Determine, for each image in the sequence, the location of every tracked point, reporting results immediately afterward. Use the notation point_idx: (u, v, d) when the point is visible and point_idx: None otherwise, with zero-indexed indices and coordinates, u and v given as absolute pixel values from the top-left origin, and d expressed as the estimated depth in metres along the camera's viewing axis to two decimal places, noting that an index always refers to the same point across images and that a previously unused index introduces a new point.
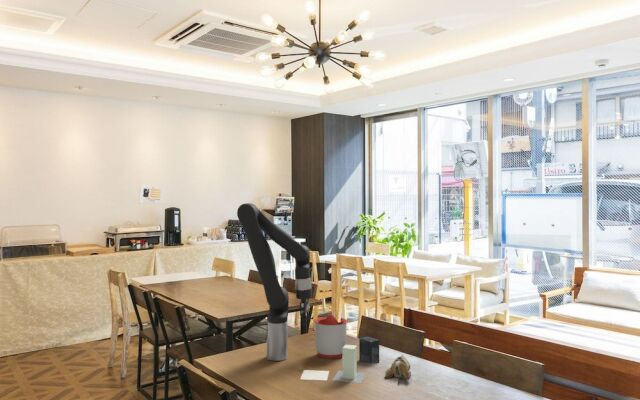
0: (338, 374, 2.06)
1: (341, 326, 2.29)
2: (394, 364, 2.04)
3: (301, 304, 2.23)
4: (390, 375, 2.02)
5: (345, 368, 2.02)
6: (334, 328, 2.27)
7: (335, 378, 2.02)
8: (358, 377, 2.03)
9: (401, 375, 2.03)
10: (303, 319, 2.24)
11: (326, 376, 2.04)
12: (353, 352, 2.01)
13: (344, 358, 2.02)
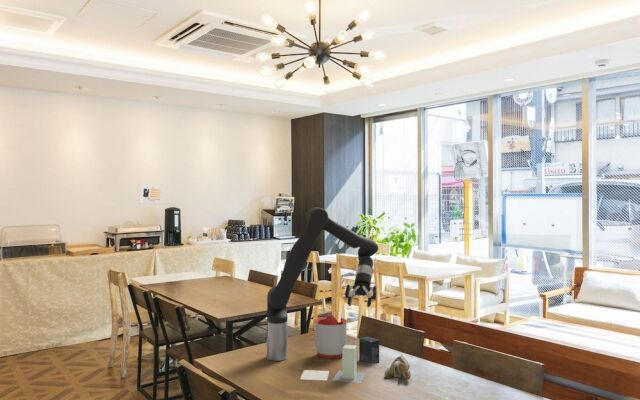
0: (338, 374, 2.06)
1: (341, 326, 2.29)
2: (393, 364, 2.04)
3: None
4: (390, 375, 2.02)
5: (345, 368, 2.02)
6: (334, 328, 2.27)
7: (335, 378, 2.02)
8: (358, 377, 2.03)
9: (401, 375, 2.03)
10: None
11: (326, 376, 2.04)
12: (353, 352, 2.01)
13: (344, 358, 2.02)
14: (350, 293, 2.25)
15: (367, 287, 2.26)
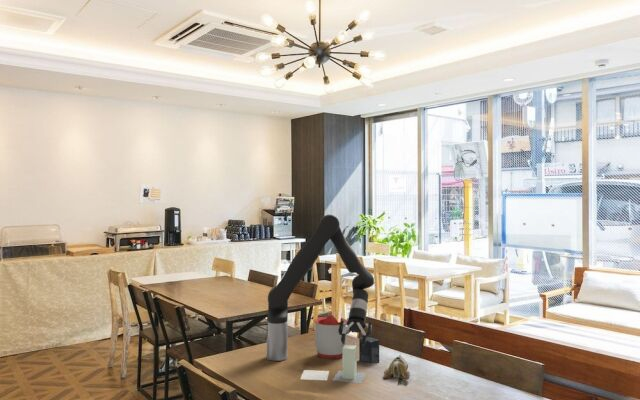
0: (338, 374, 2.06)
1: None
2: (393, 364, 2.04)
3: None
4: (389, 375, 2.02)
5: (345, 368, 2.02)
6: (334, 328, 2.27)
7: (335, 378, 2.02)
8: (358, 377, 2.03)
9: (400, 375, 2.03)
10: (365, 339, 2.10)
11: (326, 376, 2.04)
12: (353, 352, 2.01)
13: (344, 358, 2.02)
14: (344, 330, 2.14)
15: (362, 323, 2.14)
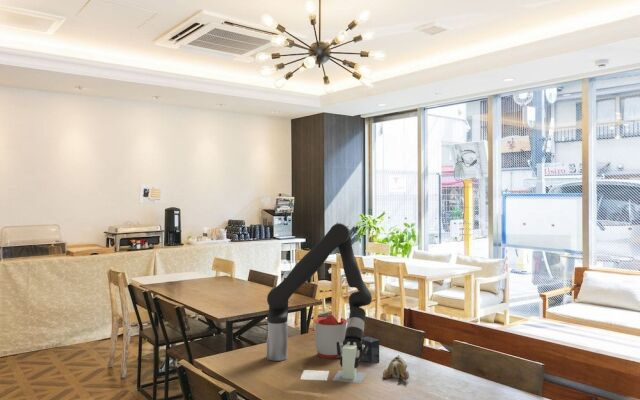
0: (338, 374, 2.06)
1: (341, 326, 2.29)
2: (392, 364, 2.04)
3: (367, 346, 2.06)
4: (388, 376, 2.02)
5: (345, 368, 2.02)
6: (334, 328, 2.27)
7: (335, 378, 2.02)
8: (358, 377, 2.03)
9: (399, 375, 2.02)
10: (358, 361, 2.03)
11: (326, 376, 2.04)
12: (353, 352, 2.01)
13: (344, 358, 2.02)
14: None
15: (358, 345, 2.07)
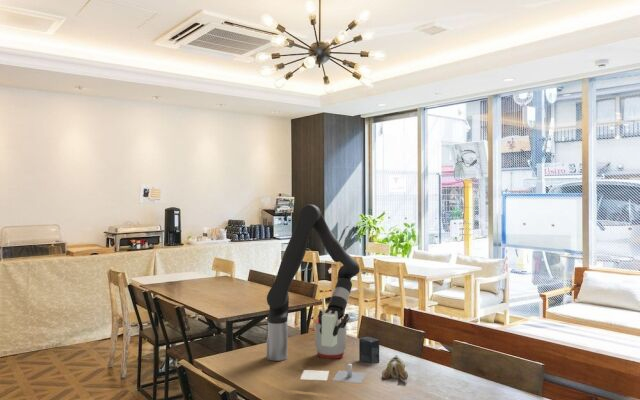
0: (338, 374, 2.06)
1: None
2: (391, 365, 2.04)
3: (348, 316, 2.06)
4: (387, 376, 2.01)
5: (324, 335, 2.03)
6: None
7: (335, 378, 2.02)
8: (358, 377, 2.03)
9: (398, 375, 2.02)
10: (337, 329, 2.03)
11: (326, 376, 2.04)
12: (332, 320, 2.02)
13: (323, 325, 2.03)
14: None
15: (340, 313, 2.07)
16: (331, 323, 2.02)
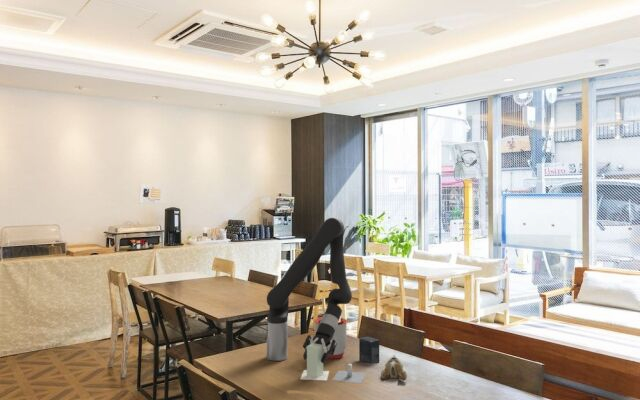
0: (338, 374, 2.06)
1: (341, 326, 2.29)
2: (389, 365, 2.03)
3: (335, 341, 2.07)
4: (386, 376, 2.01)
5: (309, 366, 2.04)
6: None
7: (335, 378, 2.02)
8: (358, 377, 2.03)
9: (397, 376, 2.02)
10: (326, 356, 2.03)
11: (326, 376, 2.04)
12: (316, 351, 2.02)
13: (308, 356, 2.04)
14: None
15: (326, 340, 2.08)
16: (315, 354, 2.02)
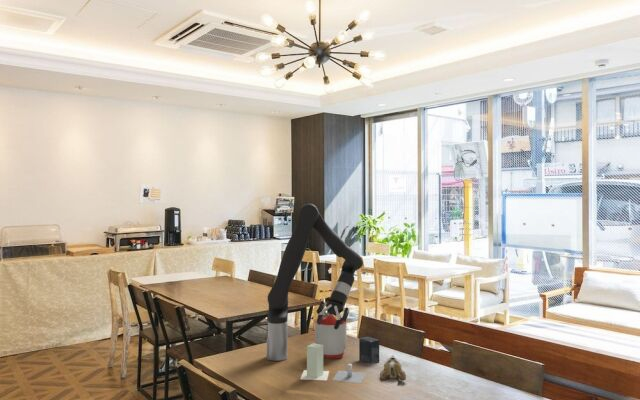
0: (338, 374, 2.06)
1: (341, 326, 2.29)
2: (389, 365, 2.03)
3: (348, 309, 2.16)
4: (386, 377, 2.01)
5: (309, 366, 2.04)
6: None
7: (335, 378, 2.02)
8: (358, 377, 2.03)
9: (396, 376, 2.02)
10: (339, 323, 2.13)
11: (326, 376, 2.04)
12: (316, 351, 2.02)
13: (308, 356, 2.04)
14: (321, 311, 2.19)
15: (339, 307, 2.17)
16: (315, 354, 2.02)
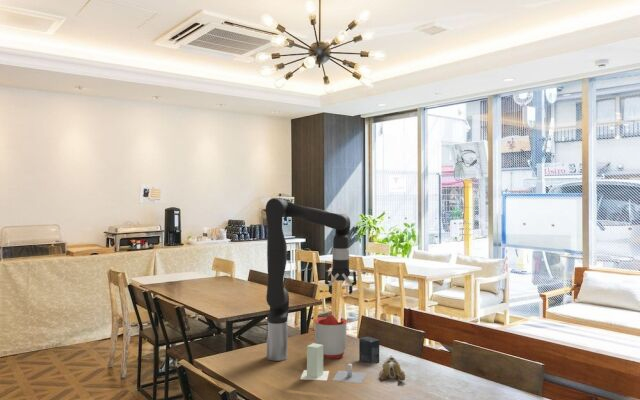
0: (338, 374, 2.06)
1: (341, 326, 2.29)
2: (388, 365, 2.03)
3: (355, 272, 2.20)
4: (385, 377, 2.00)
5: (309, 366, 2.04)
6: (334, 328, 2.27)
7: (335, 378, 2.02)
8: (358, 377, 2.03)
9: (395, 376, 2.02)
10: None
11: (326, 376, 2.04)
12: (316, 351, 2.02)
13: (308, 356, 2.04)
14: (330, 281, 2.21)
15: (347, 273, 2.20)
16: (315, 354, 2.02)
